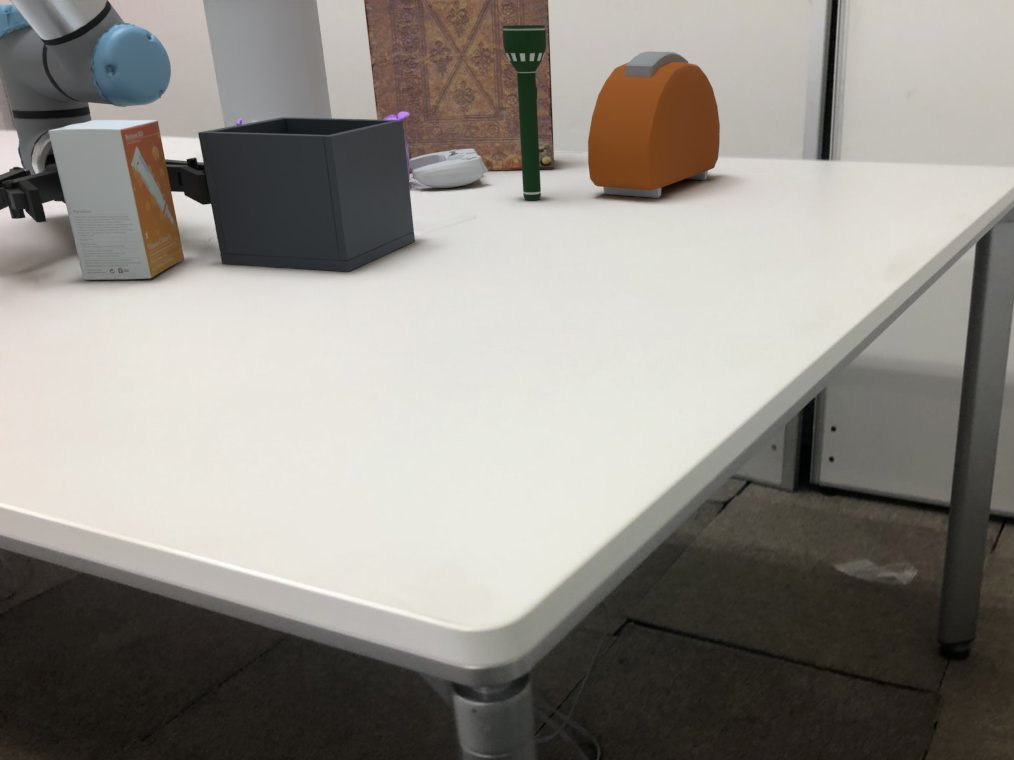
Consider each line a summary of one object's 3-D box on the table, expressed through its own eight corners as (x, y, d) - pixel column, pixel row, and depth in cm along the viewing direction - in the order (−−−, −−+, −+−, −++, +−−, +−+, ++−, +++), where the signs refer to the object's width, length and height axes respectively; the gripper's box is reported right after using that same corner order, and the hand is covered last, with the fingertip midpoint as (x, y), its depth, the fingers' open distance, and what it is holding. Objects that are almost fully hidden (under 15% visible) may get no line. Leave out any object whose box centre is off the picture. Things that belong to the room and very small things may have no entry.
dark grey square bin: (221, 263, 97) (197, 132, 92) (300, 234, 109) (282, 117, 104) (348, 271, 94) (331, 136, 89) (415, 241, 106) (403, 120, 101)
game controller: (405, 152, 144) (472, 134, 145) (414, 183, 146) (481, 165, 147) (410, 167, 131) (484, 147, 133) (420, 200, 133) (493, 180, 135)
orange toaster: (663, 172, 147) (664, 47, 140) (720, 176, 144) (724, 48, 137) (586, 198, 128) (582, 55, 121) (650, 203, 125) (650, 56, 118)
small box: (153, 280, 91) (120, 128, 86) (81, 281, 91) (44, 129, 86) (187, 259, 99) (159, 118, 93) (121, 260, 98) (89, 119, 93)
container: (213, 165, 155) (180, -16, 145) (243, 150, 171) (215, -14, 160) (328, 163, 157) (304, -17, 146) (347, 148, 172) (326, -15, 162)
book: (381, 173, 148) (355, -60, 135) (388, 164, 156) (364, -56, 143) (555, 169, 150) (546, -60, 137) (553, 160, 159) (544, -56, 146)
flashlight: (560, 198, 128) (554, 25, 119) (532, 204, 125) (523, 26, 116) (532, 194, 131) (524, 25, 122) (503, 199, 127) (493, 25, 119)
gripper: (209, 193, 114) (271, 223, 99) (-51, 219, 101) (-26, 258, 85) (197, 123, 111) (258, 142, 96) (-74, 141, 97) (-53, 166, 82)
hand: (124, 197), depth 90 cm, fingers open, 13 cm apart
